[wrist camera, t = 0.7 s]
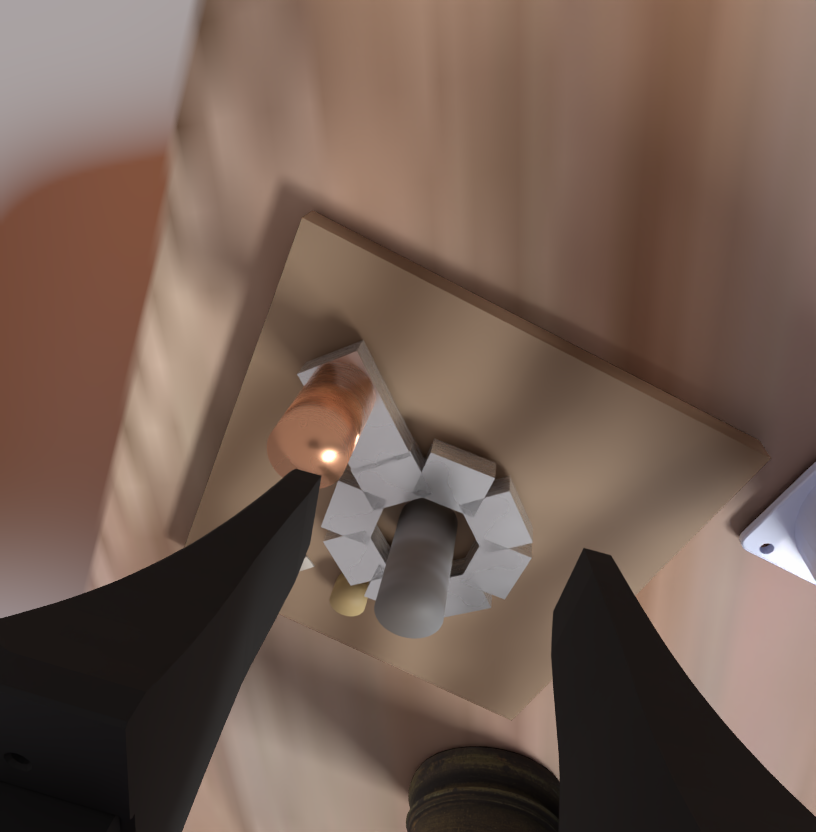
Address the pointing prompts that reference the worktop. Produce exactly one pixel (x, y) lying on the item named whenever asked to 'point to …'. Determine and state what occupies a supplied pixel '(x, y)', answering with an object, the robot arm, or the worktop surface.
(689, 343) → the worktop surface
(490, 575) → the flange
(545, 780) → the container
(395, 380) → the jig base
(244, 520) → the robot arm
